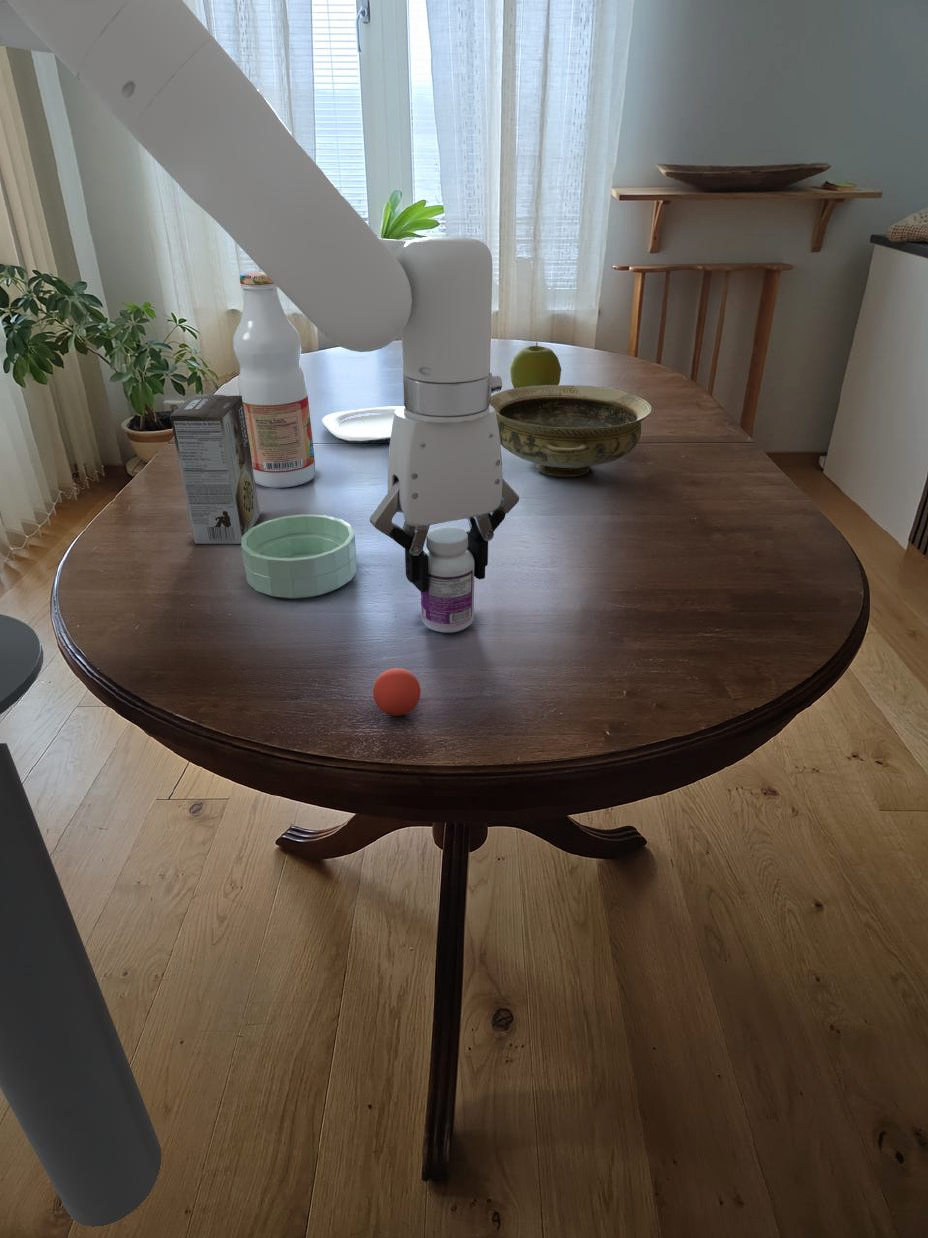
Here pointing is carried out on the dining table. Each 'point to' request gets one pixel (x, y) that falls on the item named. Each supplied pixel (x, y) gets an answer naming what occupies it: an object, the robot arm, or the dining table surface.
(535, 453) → the ceramic bowl
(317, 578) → the celadon bowl
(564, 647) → the dining table surface
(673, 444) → the dining table surface
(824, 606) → the dining table surface
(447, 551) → the pill bottle
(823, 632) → the dining table surface
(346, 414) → the plate
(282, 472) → the fruit juice
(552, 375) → the apple
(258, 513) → the grey cardboard box
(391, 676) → the rubber ball
